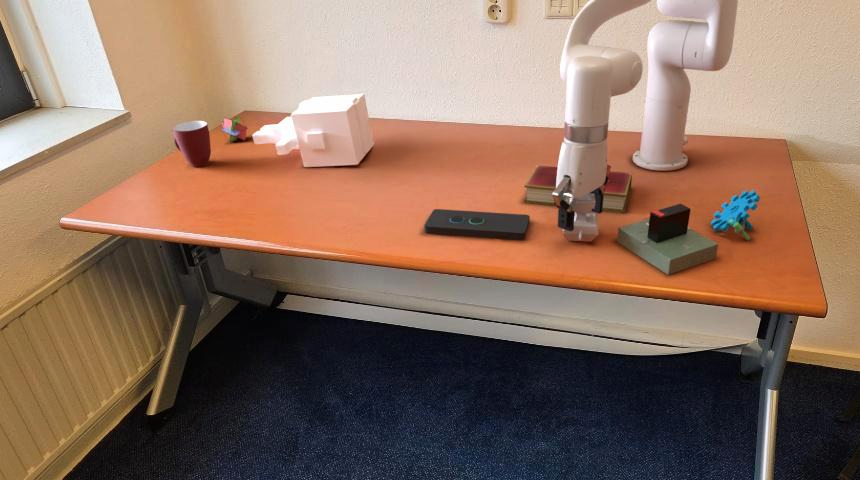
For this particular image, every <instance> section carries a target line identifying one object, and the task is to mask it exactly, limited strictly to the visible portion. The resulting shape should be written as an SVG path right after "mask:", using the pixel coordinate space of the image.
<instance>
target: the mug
mask: <svg viewBox="0 0 860 480" xmlns="http://www.w3.org/2000/svg"><path fill="white" fill-rule="evenodd" d="M172 131H173V135H174V137H173V141H174V145H175V147H176V149H177V150H178V151H179V152H181V154H182V155H183V157H184V159H185V160H186V161H187V162H188V164H189V165H191V167H194V168H200V167H201V168H202V167H205V166H207V165H208V164H209V162H210V158H211V153H212V151H211V149H212V148H211V136H210V130H209V126H208V123H207V122H206V121H204V120H189V121H183V122H180V123H177V124H176V125H174V126H173V127H172Z"/></svg>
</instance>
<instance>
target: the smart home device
mask: <svg viewBox="0 0 860 480" xmlns="http://www.w3.org/2000/svg"><path fill="white" fill-rule="evenodd" d="M530 223H531V216H530V215H529V214H519V213H506V212H505V213H504V212H491V211H475V210H461V209H460V210H458V209H445V208H444V209H443V208H435V209H433V210H432V211H431V213H430V215H429V216H428V218H427V220H426V221H425V223H424V225H423V226H424V227H423V228H424V233H425V234H431V235H441V236H442V235H444V236H456V237H469V238H470V237H471V238H472V237H473V238H484V239H485V238H486V239H497V240H498V239H499V240H510V241H512V240H513V241H524V240H525V239H526V236H527V233H528V230H529V226H530Z"/></svg>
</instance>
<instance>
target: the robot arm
mask: <svg viewBox="0 0 860 480" xmlns="http://www.w3.org/2000/svg"><path fill="white" fill-rule="evenodd" d="M651 1H652V0H588V1H587V2H586V3H585V5H584V6H582V8H581V9H580V11H578V13H577V14H576V16H575V18H574V19H573V21H572V22H571V24H570V27H569V29H568V33H567V36H566V39H565V42H564V46H563V49H562V53H561V58H560V64H559V75H560V78H561V82H563V84H564V85H566V88H565V89H566V90H565V109H564V111H565V114H564V131H563V132H564V133H563V141H562V142H561V147H560V150H559V156H558V163H557V167H558V169H557V179H556V189H555V190H554V192H553V193H552V197H553V199H554V204H555V205H556V206H555V207H556V209H558V211H557V212H558V213H557V227H558V228H559V229H562V230H563V229H565V230H568V231H573V230H574V215H575V213H576V212H575V211H573V207H574V205H575V203H576V201H577V199H579V198H581V197H583V196H585V195H587V194H594V196H595V208H594V209H592V211H591V213H595V214H599V215H601V214H602V213H603V210H602V209H603V197H604V194H602V193H604V192H605V190H606V188H605V185H606V183H607V181H608V177H607V176H608V175H609V172H610V171H611V169H612V165H611V164H608V136H609V135H608V134H609V122H610V110H611V98H612V97H616V96H621V95H625V94H628V93H630V92H631V91H632V90H634V89H635V88H636V86H637V85H638V84H639V82H640V81H641V78H642V75H643V71H644V70H643V69H644V68H643V67H644V64H643V60H642V58H641V56H640V55H639V54H638V53H637V52H635V51H633V50H632V49H627V48H619V47H610V46H602V45H592V44H589V43H590V41H591V38H592V37H593V35H594V34H595V32H596V31H597V30H598V29H599V28H600V27H601V26H602V25H604V24H605V23H606V22H608V21H610V20H612V19H614V18H616V17H617V16H620V15H622V14H625V13H627V12H629V11H632V10H635V9H637V8H640V7H642V6H644V5H647V4H649V3H650V2H651ZM738 5H739V0H656V6H657V7H656V8H657V10H658V11H659V13H660V14H662V15H664V16H667V17H672V18H682V19H695V20H706V22H705V21H694V20H680V19H667V20H662V21H659V22H658V23H656V24H654V26H652V28H651V29H650V31H649V33H648V36H647V40H646V52H647V85H646V93H645V101H644V111H643V118H642V130H641V139H640V148H639V149H638V150H636V151H635V152H634V153H633V154H632V161H633V163H634V164H635V165H636V166H638V167H640V168H642V169H647V170H651V171H658V172H659V171H660V172H669V171H676V170H679V169H683V168H684V167H686V166H687V164H688V161H689V158H688V156H687V154H685V153H684V152H683V146H685V145H687V144H688V142H689V138H688V137H687V136H686V135H685V133H686V125H687V119H688V112H689V105H690V98H691V91H692V90H691V89H692V88H691V83H690V80H689V79H690V78H689V77H688V74H687V72H686V71H685V70H692V71H693V70H694V71H703V72H718V71H721V70H722V69H725V67H726V66H727V65H728V63H729V61H730V59H731V55H732V51H733V46H734V45H733V44H734V38H735V29H736V20H737V13H738V12H737V11H738ZM568 191H572V192H573V193H574V195H573V194H570V193H568ZM566 197H568V198H571V200H570V202H569V204H568V203H567V202H566V201H565V199H566Z"/></svg>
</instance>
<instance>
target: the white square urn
mask: <svg viewBox="0 0 860 480" xmlns="http://www.w3.org/2000/svg"><path fill="white" fill-rule="evenodd" d="M573 195H574V194H573ZM570 200H571V198H570ZM594 208H595V196H594V194H587V195H585V196H583V197H581V198H579V199H577V201H576V203H575V205H574V207H573V211H575V215H574V230H573V231H568V230H565V229H562V235H563V236H564V237H565V238H566V239H567V241H569V242H593V240H594V239H596V238H597V237H598V236H599V222H598V221H599V220H598V213H595V212H592V209H594Z"/></svg>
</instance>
